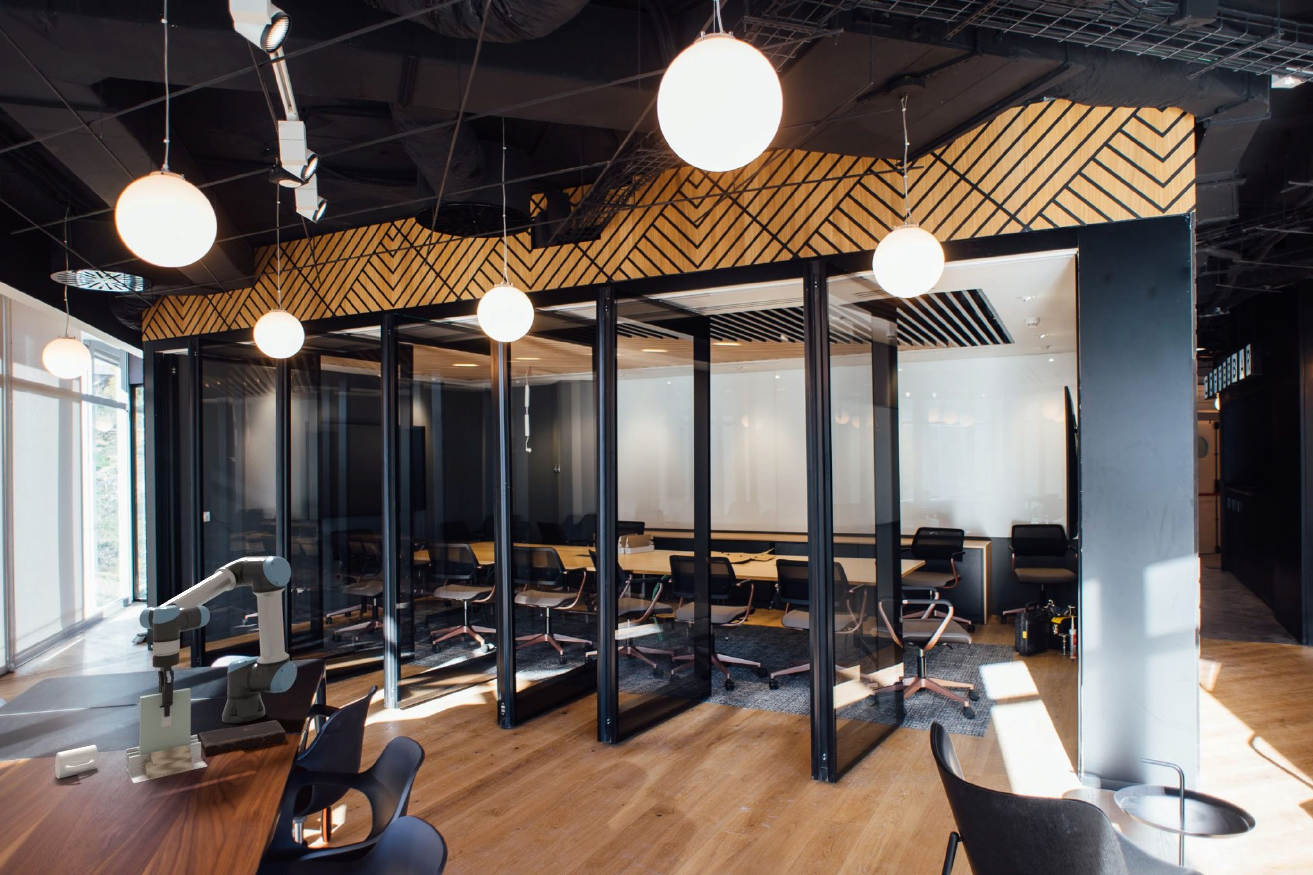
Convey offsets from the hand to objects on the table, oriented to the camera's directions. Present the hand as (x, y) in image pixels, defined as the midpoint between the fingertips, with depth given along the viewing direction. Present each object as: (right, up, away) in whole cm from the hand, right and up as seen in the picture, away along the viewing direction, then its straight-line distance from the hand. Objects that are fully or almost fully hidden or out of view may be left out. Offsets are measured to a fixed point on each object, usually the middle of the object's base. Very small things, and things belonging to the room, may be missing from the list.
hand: (165, 724), depth 250 cm
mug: (-24, -14, -7) cm, 28 cm away
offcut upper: (+6, -9, -7) cm, 13 cm away
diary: (+15, -15, +20) cm, 29 cm away
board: (0, -10, -1) cm, 10 cm away
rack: (+3, -13, -4) cm, 14 cm away
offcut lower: (+6, -12, -7) cm, 15 cm away
